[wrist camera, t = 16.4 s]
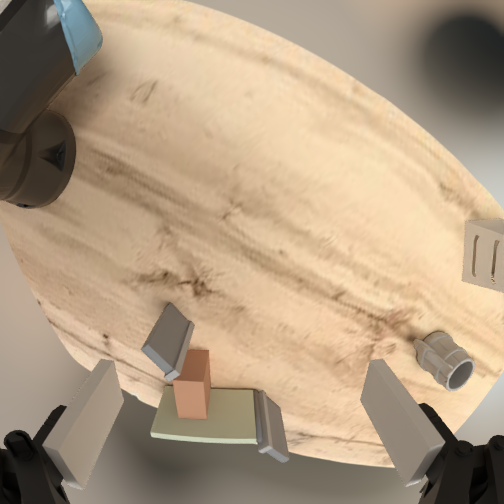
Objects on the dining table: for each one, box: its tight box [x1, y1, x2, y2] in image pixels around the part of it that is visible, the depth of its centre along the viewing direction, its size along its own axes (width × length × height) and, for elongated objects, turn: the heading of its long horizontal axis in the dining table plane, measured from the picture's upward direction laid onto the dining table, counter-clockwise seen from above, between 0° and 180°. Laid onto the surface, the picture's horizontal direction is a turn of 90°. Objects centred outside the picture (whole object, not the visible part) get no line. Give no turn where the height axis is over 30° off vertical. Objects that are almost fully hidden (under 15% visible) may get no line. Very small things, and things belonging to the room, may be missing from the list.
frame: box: [141, 303, 290, 463], centre depth 37 cm, size 26×2×12 cm, turn 39°
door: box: [151, 386, 262, 443], centre depth 38 cm, size 15×2×11 cm, turn 88°
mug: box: [413, 332, 475, 391], centre depth 39 cm, size 8×12×12 cm, turn 61°
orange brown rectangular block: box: [172, 350, 211, 420], centre depth 39 cm, size 7×4×8 cm, turn 179°
